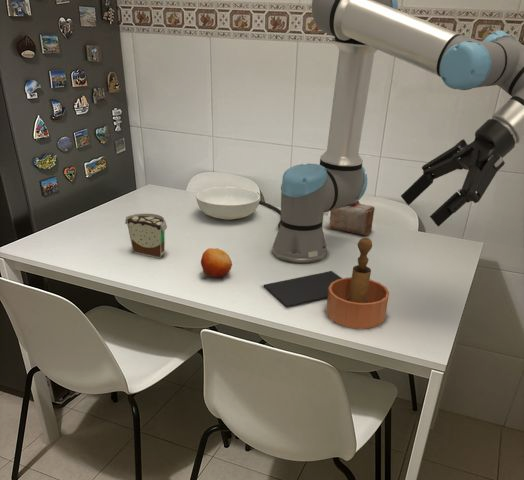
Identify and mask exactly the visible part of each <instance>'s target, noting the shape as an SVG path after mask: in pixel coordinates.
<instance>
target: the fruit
mask: <svg viewBox="0 0 524 480" xmlns="http://www.w3.org/2000/svg"><path fill="white" fill-rule="evenodd" d="M200 266H201V268H202V271H203V274H204V276H203V277H202V278H203V279H205V278H207V277H210V278H213V279H223V278H225V277H226V276H227V275H228V274H229V272H230V271H231V269H232V266H233V261H232V259H231V257H230V255H229V254H228V253H227V252H226V251H225V250H222V249H220V248H218V247H217V248H216V247H215V248H214V247H212V248H211V247H209V248H206V249H205V251H203V252H202V256H201V259H200Z"/></svg>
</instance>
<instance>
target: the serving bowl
mask: <svg viewBox="0 0 524 480" xmlns="http://www.w3.org/2000/svg"><path fill="white" fill-rule="evenodd" d="M195 199H196V204H197V206H198V208H199V209H200V210H201V211H202V212H203V213H204V214H205V215H207V216H209V217H212V218H214V219H218V220H219V219H220V220H226V221H230V220H232V221H233V220H238V219H244V218H247V217H248V216H250V215H251V214H253V213H254V212H255V211H256V210H257V209H258V207H259V204H260V203H259V201H261V194H260V193H259V194H258V193H257V191H255V190H252V189H250V188H245V187H239V186H212V187H208V188H204V189H202V190H199V191H198V192H197V193H196V194H195Z"/></svg>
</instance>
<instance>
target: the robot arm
mask: <svg viewBox="0 0 524 480" xmlns="http://www.w3.org/2000/svg"><path fill="white" fill-rule="evenodd" d="M311 14H312V18H313V21H314V23H315V25H316V27H317V28H318V29H319V31H321V32H323V33H324V34H326V35H329V36H331V37H333V42H334V43H333V44H335V46H336V47H337V49H338V58H337V66H336V75H335V81H334V82H335V83H334V91H333V99H332V105H331V106H332V107H331V113H330V121H329V130H328V139H327V146H326V151H325V152H324V153H322V154H321V155H320V158H319V164H317V163H306V164H303V163H301V164H296V165H293V166H291V167H289V168H287V169H286V170H285V171H284V173H283V175H282V181H281V185H280V193H281V194H280V196H281V197H280V208H278V207H276V206H274V205H272V204H270V203H267V202H265V201H262V200H260V201H259V204H261V205H262V206H265V207H268V208H271V209H273V210H274V211H276V212H278V213H279V214H280V221H279V222H278V224H277V227H278V231H277V233H276V236H275V238H274V241H273V245H272V254H273V256H275V258H277V259H279V260H281V261H284V262H287V263H292V264H311V263H316V262H319V261H322V260H324V259H325V258H326V257H327V253H328V252H327V251H328V247H327V242H326V238H325V234H324V230H323V223H324V214H325V213H327V212H330V211H331V210H334V209H338V208H341V207H347V206H349V205H351V204H353V203H355V202H357V201H360V200H361V199H362V198H363V196H364V195H365V193H366V191H367V187H368V174H367V173H366V169H365V167H364V165H363V163H364V161H363V158H362V157H361V155H360V154H359V151H360V145H361V140H362V139H361V138H362V132H363V127H364V122H365V121H364V120H365V115H366V107H367V102H368V95H369V90H370V84H371V77H372V70H373V64H374V59H375V54H376V52H377V51H379V52H382V53H385V54H387V55H389V56H390V57H394V58H395V59H399V60H401V61H403V62H404V63H405V62H406V63H407V64H409V65H412V66H414V67H417V68H419V69H421V70H424V71H426V72H428V73H430V74H433V75H435V76H437V77H439V78H441V80H442V82H443V83H444V85H445V86H446V87H448V88H450V89H453V90H460V91H468V90H472V89H477V88H484V87H493V86H497V87H499V88H500V89H502V91H504V92H506V93H507V94H508V95H509V96H510V98H509V99H508V100H507V101H506V102H505V103H504V104H503V105H502V106H500V108H498V110H496V111H495V112H494V113H493V114H492V115H491V118H489V119H487V120H486V121H485V122H484V123H483V124H481V126H479V128H477V130H475V133H474V140H473V141H472V142H471V143H469V144H468V143H467V141H466V140H465V138H464V139H461V140H460V141H458V142H457V143H456V144H454V146H452V147H451V148H449V149H448V150H446V151H444V152H443V153H441V154H439V155H438V156H436V157H434V158H433V159H431V160H430V161H427V162H426V163H425V164H423V165H422V167H421V170H422V171H423V172H422V175H421V176H419V177H418V178H417V179H416V180H415V181H414V182H413V183H412V184H411V185H410V186H409V187H408V188H407V189H406V190H405V191H404V192H403V193H402V194H401V195H400V197H401V198H402V200H403V201H404V202H405V203H406V205H408V206H410V205H411V204H412V203H413V202H414V201H415V200H416V199H417V198H418V197H420V196H421V194H423V193H424V192H425V191H426V190H427V189H428V188H429V187H430V186H431V185H432V184H433V183H434V180H436V179H438V178H441V177H443V176H446V175H448V174H449V173H452V172H454V171H457V170H460V171H461V170H466V171H467V174H466V176H465V179H464V182H463V184H462V187H461V188H459V189H458V190H457V191H455V192H454V193H453V194H452V195H451V196H450V197H449V198H448V199H447V200H445V201H444V202H443V203H442V205H440V206H439V207H438V208H437V209H436V210H435V211H434V212H433V213H432V214H430V216H429V218H430V219H431V220H432V222H434V224H435V225H436V226H437V227H440V226H441V225H442V224H443V223H445V221H447V220H448V219H449V218H450V217H451V216H452V215H453V214H455V213H457V211H459V210H460V209H461V208H462V207H463V206H464V205H466V203H470V202H473V203H474V204H477V203H479V202H480V201H481V199H482V197H483V196H484V194H485V192H486V191H487V189H488V188H489V187H490V184H491V183H492V181H493V179H494V178H495V176H496V174H497V173H498V171H500V170H501V169H502V167H503V166H504V165H505V164H506V163H505V160H504V158H505V157H506V156H507V155H508V154H509V153H510V152H511V151H512V150H513V149H514V148H515V147H516V144H519V143H521V142H522V140H524V45H523V43H521V42H520V41H518V39H516V37H515V36H513V35H510V34H508V33H507V32H505V31H503V30H501V29H498V30H495V31H493V32H492V33H490V34H488V35H486V37H485V38H484V39H483V40H482V41H481V40H478V39H475V38H472V37H470V36H467V35H464V34H462V33H459V32H457V31H454V30H452V29H448V28H446V27H443V26H442V25H439V24H435V23H433V22H430V21H427V20H425V19H422V18H420V17H417V16H415V15H412V14H410V13H407V12H404V11H402V10H399V1H398V0H311ZM256 192H257V191H256ZM257 193H258V192H257ZM258 194H259V195H260V192H259V193H258Z"/></svg>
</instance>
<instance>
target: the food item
mask: <svg viewBox="0 0 524 480" xmlns="http://www.w3.org/2000/svg"><path fill="white" fill-rule="evenodd" d="M329 213H330V214H329V224H328V228H329V229H332V230H338V231H342V232H347V233H352V234H356V235H360V236H367V235H369V234H370V233H371V232H372V229H373V221H374V214H375V206H373V205H368V204H363V203H360V200H358V201H357V202H355V203H353V204H351V205H349V206H347V207H341V208H338V209H334V210H331V211H329Z"/></svg>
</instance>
